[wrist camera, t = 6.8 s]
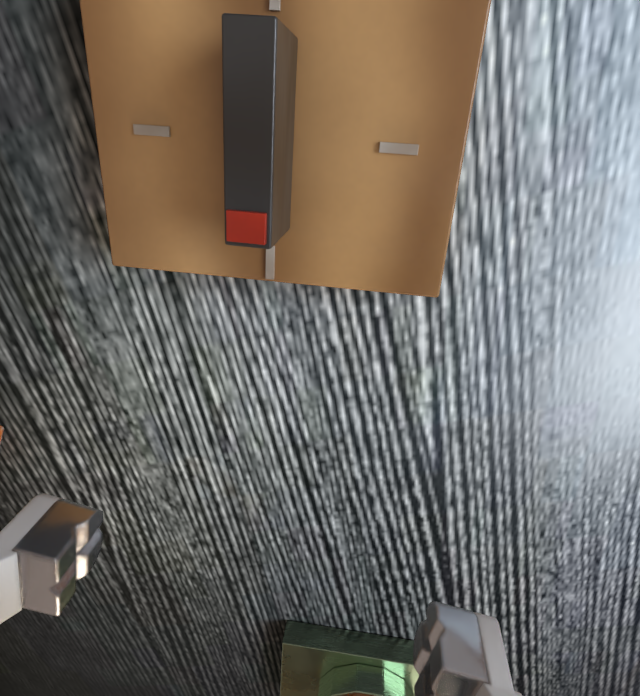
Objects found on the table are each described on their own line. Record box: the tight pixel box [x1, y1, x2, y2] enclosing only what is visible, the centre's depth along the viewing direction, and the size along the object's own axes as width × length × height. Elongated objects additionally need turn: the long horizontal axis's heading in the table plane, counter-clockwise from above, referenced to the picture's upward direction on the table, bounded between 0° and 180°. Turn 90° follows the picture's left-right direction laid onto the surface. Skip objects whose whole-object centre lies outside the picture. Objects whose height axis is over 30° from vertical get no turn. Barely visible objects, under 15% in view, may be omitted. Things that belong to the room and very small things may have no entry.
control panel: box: [79, 0, 491, 297], centre depth 19 cm, size 14×11×3 cm
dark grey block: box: [222, 13, 298, 249], centre depth 16 cm, size 6×2×4 cm, turn 176°
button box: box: [280, 620, 419, 696], centre depth 33 cm, size 12×8×4 cm, turn 86°
